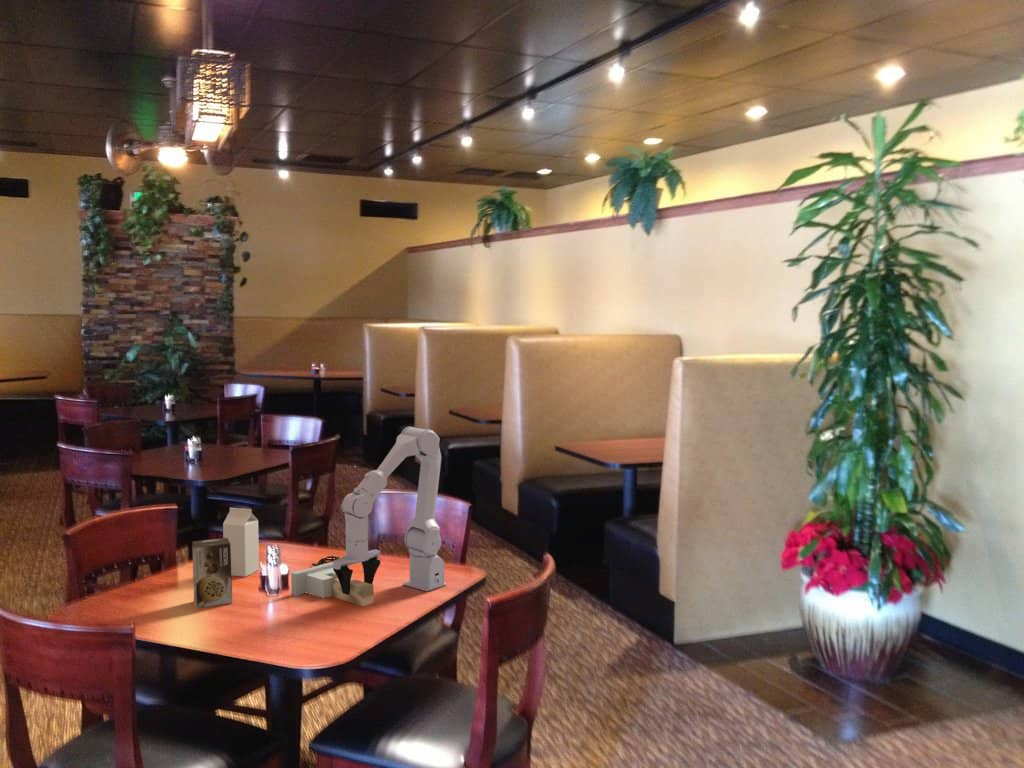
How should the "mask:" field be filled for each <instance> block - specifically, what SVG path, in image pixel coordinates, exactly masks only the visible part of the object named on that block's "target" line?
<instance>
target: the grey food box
mask: <svg viewBox="0 0 1024 768" xmlns="http://www.w3.org/2000/svg"><path fill="white" fill-rule="evenodd" d="M191 544H192V545H191V546H192V571H193V572H192V578H193V579H192V581H193V601H194V602H193V603H194V605H196V606H195V608H196V609H201V607H202V608H209V607H213V606H221V605H228V604H233V602H234V601H233V580H232V579H233V576H232V573H231V543H230V542H229V540H228V538H223V537H221V538H212V539H204V540H196V541H192V543H191Z"/></svg>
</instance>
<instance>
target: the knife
mask: <svg viewBox="0 0 1024 768" xmlns="http://www.w3.org/2000/svg"><path fill="white" fill-rule="evenodd" d="M327 558H332V559H327ZM333 558H335V559H333ZM339 558H340V556H334V555H329V556H328V555H327V556H326V557H323V558H322V557H321V558H320V559H319V560H318V562H317V563H313V562H311V566H319V565H321V564H322V563H323V564H325V563H330V562H333V561H335V560H337V559H339ZM321 562H322V563H321Z"/></svg>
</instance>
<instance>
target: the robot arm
mask: <svg viewBox="0 0 1024 768" xmlns="http://www.w3.org/2000/svg"><path fill="white" fill-rule="evenodd" d="M440 439H441V438H440V437H439V436H438V434H437V433H436V432H435V431H434V430H432V429H429V428H428V429H424V428H417V427H414V426H406V427H405V428H403V429H402V431H401V433H400V434H398V435H397V437H396V439H395V440H396V441H395V444H394V445H393V446H392V447H391V449H390V450H389V452H388V454H387V455H386V456H385V458H384V459H383V461H382V462H381V464H379V466H378V467H377V469H374V470H370V471H369V472H366V473H365V474H364V478H363V479H362V480H361V482H360V483H359V484H358V485H357V487H355V488H354V489H353V491H352V492H351V493H348V494H346V495H345V496H344V498H343V500H342V503H340V509H341V511H342V512H343V515H344V520H345V553H344V555H343V556H342V557H339V559H337V560H335V561H333V570H334V572H335V574H336V575H337V577H338V579H339V582H340V585H341V589H342V593H343V594H347V595H348V594H350V581H351V578H352V577H353V576H352V575H353V572H354V570H353V569H351V568H349V566H352V565H355V564H356V565H357V564H360V563H361V565H362V569H363V582H366V583H369V584H372V585H374V584H373V583H374V579H375V576H376V573H377V570H378V569H379V566H380V565H381V560H380V558H381V550H378V549H372V550H369V526H368V525H369V523H368V522H369V514H371V512H372V511H373V506H374V503H375V500H376V499H377V498H378V497H379V496H380V494H381V493H382V492H383V491H384V489H385V488H386V487H387V486H388V477H389V476H390V475H391V474H392V473H393V472H394V471H395V469H396V468H398V466H400V464H401V463H402V462H403V461H404V460H405V459H406V458H407V457H411V456H416V458H417V459H418V460H419V461H420V468H419V469H420V470H419V475H418V476H419V477H418V478H419V479H418V487H417V494H416V495H417V496H416V505H415V512H414V518H413V519H411V521H409V522H408V527H407V530H406V532H405V534H404V539H403V540H404V545H405V546H406V547H407V548H408V553H409V580H408V581H406V582H405V581H404V582H403V583H402V585H404V586H407V587H411V588H413V589H417V590H421V591H425V592H429V591H432V590H435V589H437V588H441V587H444V586H447V583H446V582H445V562H444V559H443V558H441V557H440V556H439V555H438V552H439V551H440V548H441V545H442V539H441V538H442V537H441V535H440V534H441V533H440V532H441V527H440V526H439V525H438V523H437V522H436V519H435V517H436V509H437V500H438V490H439V483H440V482H439V481H440V476H441V475H440V473H441V464H442V453H441V450H440Z"/></svg>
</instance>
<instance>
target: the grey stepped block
mask: <svg viewBox="0 0 1024 768" xmlns="http://www.w3.org/2000/svg"><path fill="white" fill-rule="evenodd" d="M290 573H291V577H290V578H291V583H290V584H291V596H294V595H295V596H294V597H299V596H301V594H302V595H304V594H303V593H306V592H307V593H306V594H308V593H311V594H313V595H312V596H314V595H316V596H315V597H317V596H319V597H318V598H320V597H321V599H323V598H324V599H326V598H325V597H327V598H329V596H330V597H333V596H332V595H333V578H338V577H337V575H336V574H335V572H334V570H333V562H330V563H326V564H325V563H323V564H322V563H321V564H320V565H319V566H315V567H312V566H311V567H308V568H304V569H300V570H297V571H293V572H290ZM311 594H310V595H311ZM298 595H299V596H298Z"/></svg>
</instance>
